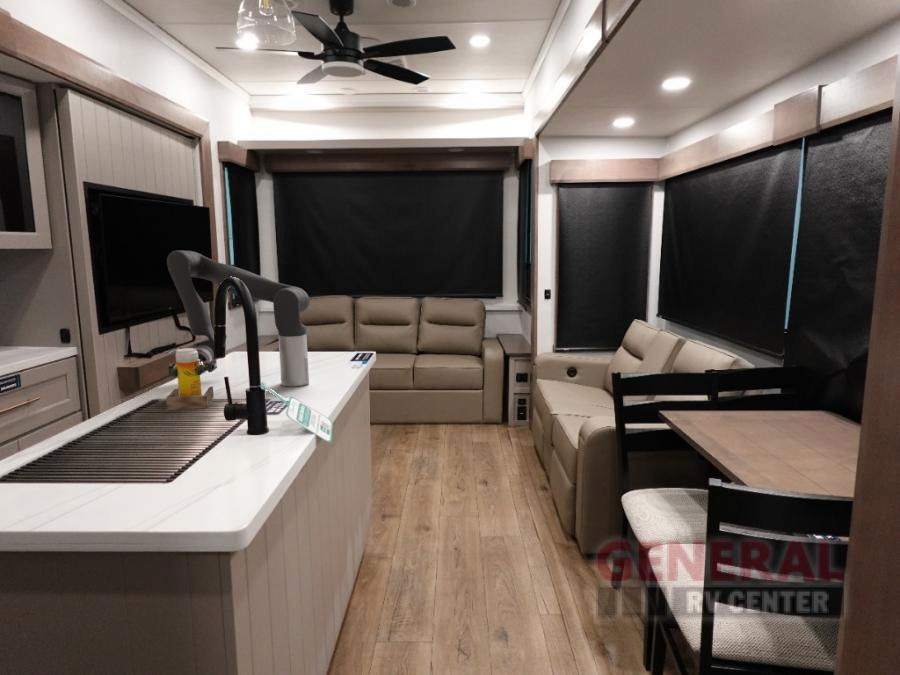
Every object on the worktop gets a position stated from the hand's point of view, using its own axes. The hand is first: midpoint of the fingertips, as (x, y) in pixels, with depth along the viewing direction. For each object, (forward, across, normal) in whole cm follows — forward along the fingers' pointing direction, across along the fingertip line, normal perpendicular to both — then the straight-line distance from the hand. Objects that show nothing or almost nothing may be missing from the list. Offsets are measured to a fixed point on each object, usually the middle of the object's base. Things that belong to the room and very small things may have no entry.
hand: (186, 372), depth 163 cm
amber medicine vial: (-2, 0, +9) cm, 9 cm away
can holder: (-2, 0, +10) cm, 10 cm away
